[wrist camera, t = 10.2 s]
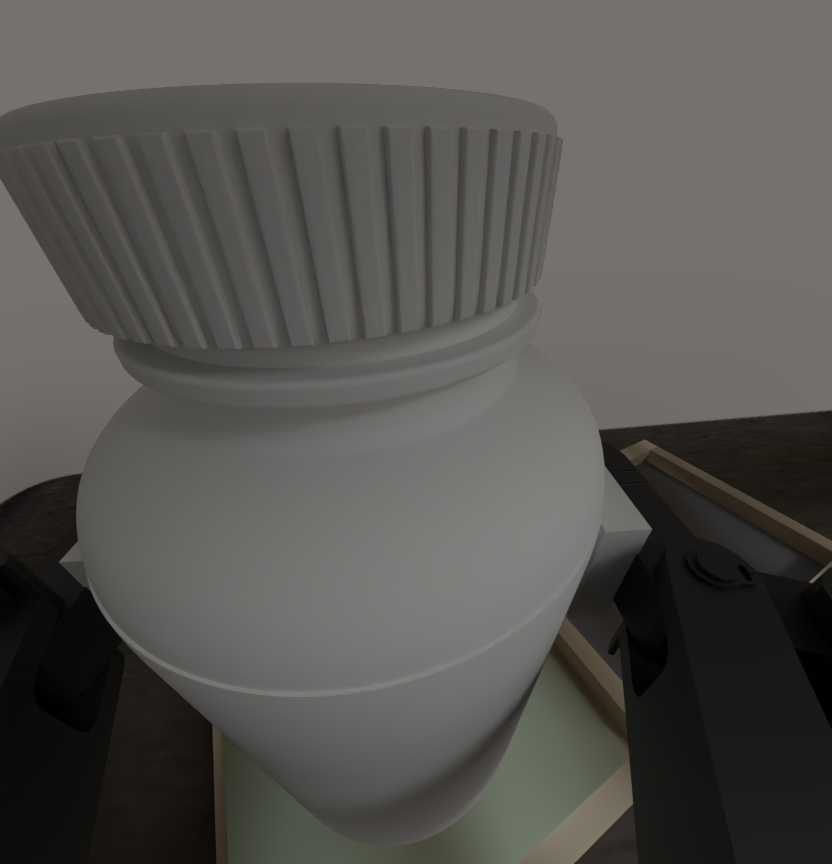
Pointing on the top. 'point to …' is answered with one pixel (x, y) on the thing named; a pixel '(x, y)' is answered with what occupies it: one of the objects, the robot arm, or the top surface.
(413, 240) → the pill bottle
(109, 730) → the robot arm
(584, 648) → the tray
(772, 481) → the top surface
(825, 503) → the top surface
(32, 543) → the top surface
